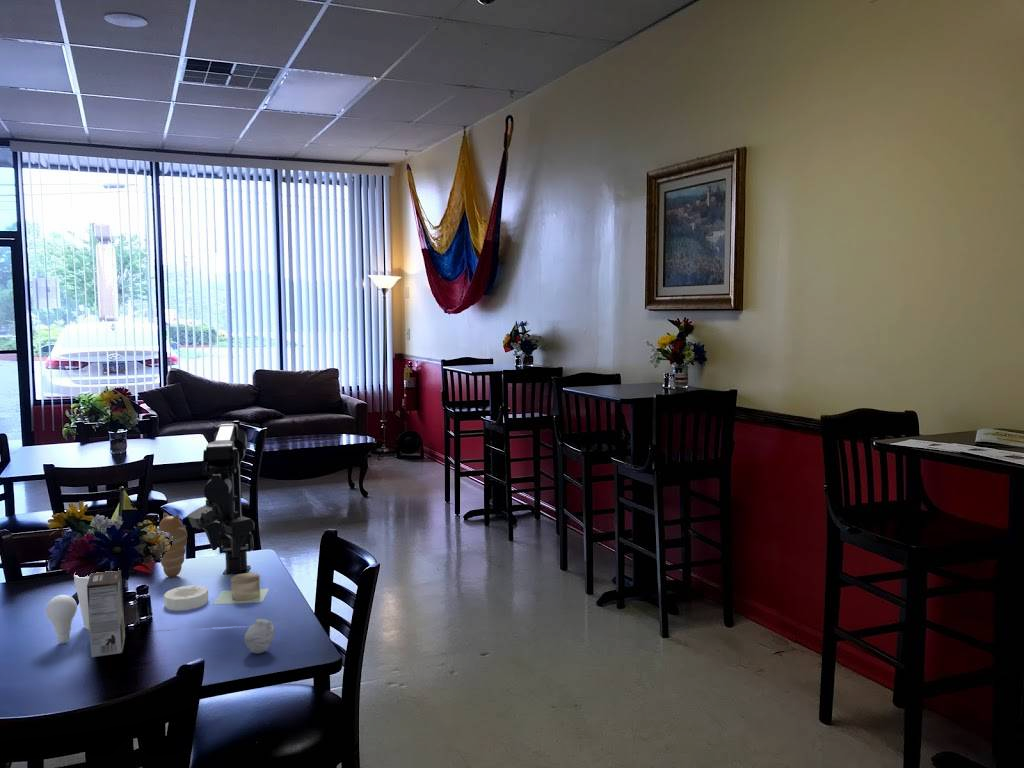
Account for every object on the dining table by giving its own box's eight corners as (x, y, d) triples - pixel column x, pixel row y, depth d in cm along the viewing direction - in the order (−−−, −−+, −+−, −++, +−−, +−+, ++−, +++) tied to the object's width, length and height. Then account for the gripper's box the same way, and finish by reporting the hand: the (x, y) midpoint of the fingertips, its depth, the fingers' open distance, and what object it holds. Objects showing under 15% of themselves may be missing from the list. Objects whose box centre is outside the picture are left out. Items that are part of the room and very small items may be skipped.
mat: (222, 592, 213) (222, 590, 213) (269, 589, 215) (269, 588, 215) (213, 605, 204) (213, 604, 203) (262, 603, 205) (262, 602, 205)
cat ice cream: (195, 574, 228) (192, 512, 226) (173, 583, 221) (170, 518, 219) (172, 570, 232) (169, 509, 230) (149, 578, 224) (146, 515, 223)
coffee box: (94, 642, 182) (90, 572, 180) (125, 637, 184) (122, 568, 183) (89, 658, 173) (85, 585, 172) (122, 653, 176) (118, 581, 174)
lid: (235, 592, 212) (234, 573, 212) (262, 590, 213) (261, 572, 213) (228, 601, 205) (228, 582, 205) (257, 600, 206) (256, 581, 206)
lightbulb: (83, 642, 182) (80, 595, 181) (53, 651, 177) (50, 602, 176) (73, 635, 186) (70, 588, 185) (44, 643, 181) (41, 595, 180)
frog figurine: (281, 648, 178) (280, 617, 177) (259, 660, 171) (258, 629, 171) (260, 643, 180) (258, 613, 180) (237, 656, 174) (236, 624, 173)
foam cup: (108, 632, 187) (105, 578, 186) (69, 632, 187) (65, 578, 186) (128, 617, 196) (125, 565, 195) (91, 617, 197) (88, 565, 195)
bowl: (172, 598, 209) (171, 586, 209) (212, 596, 210) (211, 584, 210) (160, 612, 199) (159, 600, 199) (202, 610, 200) (201, 598, 200)
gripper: (172, 493, 202) (175, 554, 204) (213, 505, 191) (216, 569, 192) (212, 485, 211) (215, 543, 212) (254, 496, 199) (256, 557, 201)
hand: (224, 553), depth 204 cm, fingers open, 9 cm apart
